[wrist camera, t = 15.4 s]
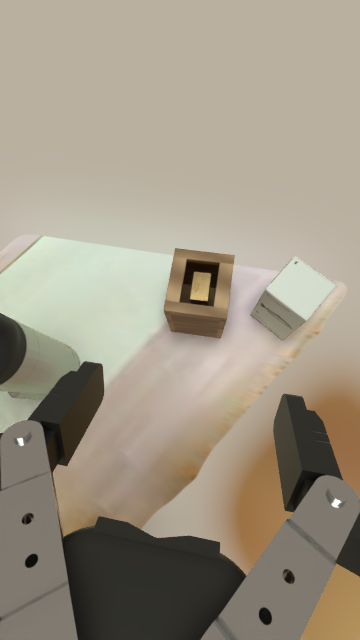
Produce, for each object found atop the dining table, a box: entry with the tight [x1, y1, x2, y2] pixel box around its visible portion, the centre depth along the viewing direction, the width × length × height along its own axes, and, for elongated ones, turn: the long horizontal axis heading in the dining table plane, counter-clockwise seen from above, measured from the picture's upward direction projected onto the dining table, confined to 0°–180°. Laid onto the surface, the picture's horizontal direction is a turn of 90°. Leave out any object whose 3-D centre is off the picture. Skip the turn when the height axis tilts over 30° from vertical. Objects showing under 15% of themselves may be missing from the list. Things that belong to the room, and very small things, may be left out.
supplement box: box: [251, 256, 337, 340], centre depth 48 cm, size 7×7×13 cm
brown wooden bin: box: [164, 249, 234, 338], centre depth 49 cm, size 10×9×12 cm
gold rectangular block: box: [190, 272, 211, 306], centre depth 50 cm, size 4×3×10 cm, turn 172°
